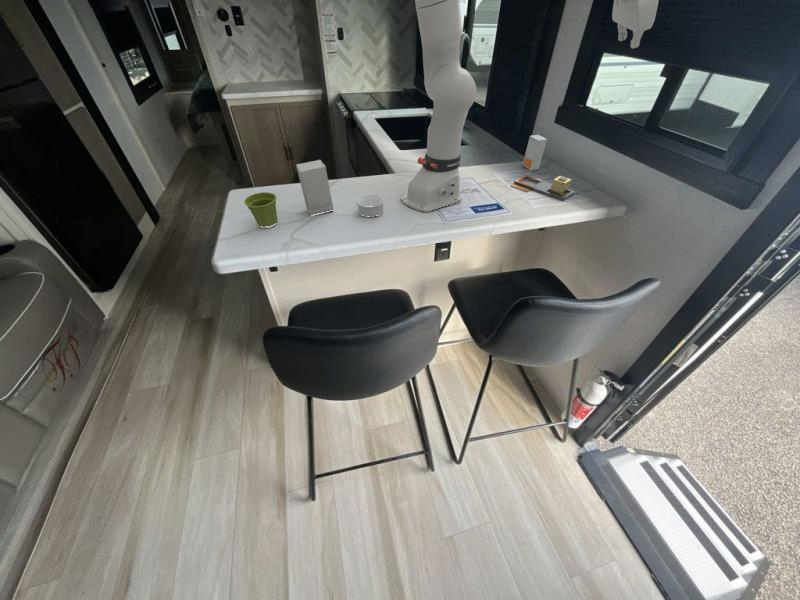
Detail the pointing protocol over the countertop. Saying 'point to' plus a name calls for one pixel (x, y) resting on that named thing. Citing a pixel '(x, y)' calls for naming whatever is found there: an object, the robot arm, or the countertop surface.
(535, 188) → the rail
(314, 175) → the skincare box
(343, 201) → the countertop surface
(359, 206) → the ramekin
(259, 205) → the plant pot
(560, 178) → the yellow square block
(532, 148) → the skincare box
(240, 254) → the countertop surface
